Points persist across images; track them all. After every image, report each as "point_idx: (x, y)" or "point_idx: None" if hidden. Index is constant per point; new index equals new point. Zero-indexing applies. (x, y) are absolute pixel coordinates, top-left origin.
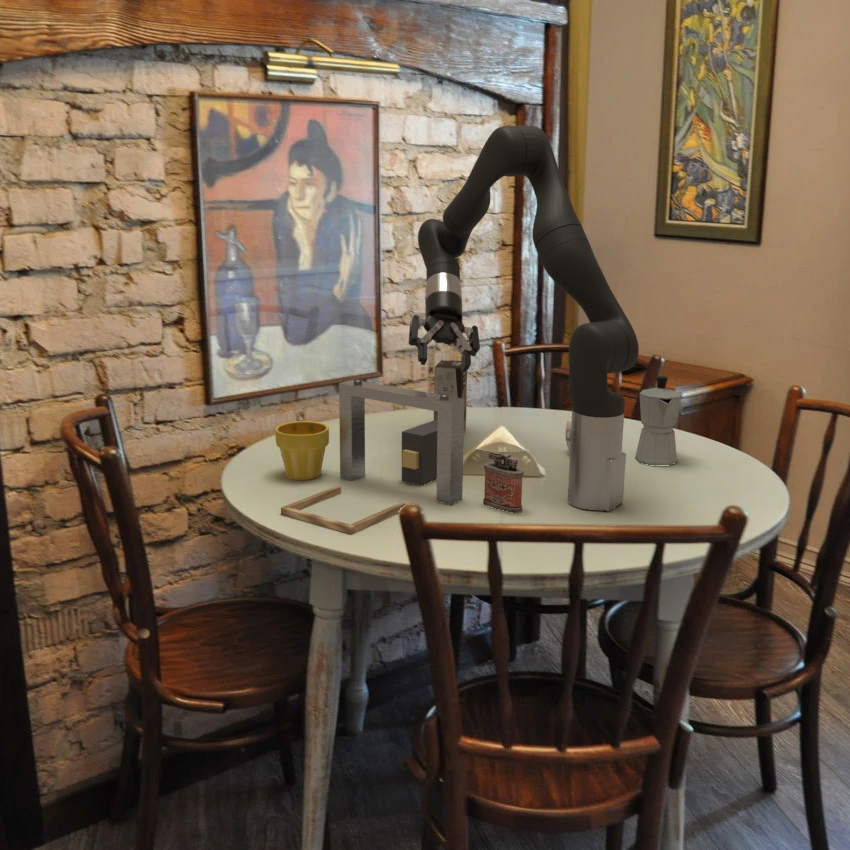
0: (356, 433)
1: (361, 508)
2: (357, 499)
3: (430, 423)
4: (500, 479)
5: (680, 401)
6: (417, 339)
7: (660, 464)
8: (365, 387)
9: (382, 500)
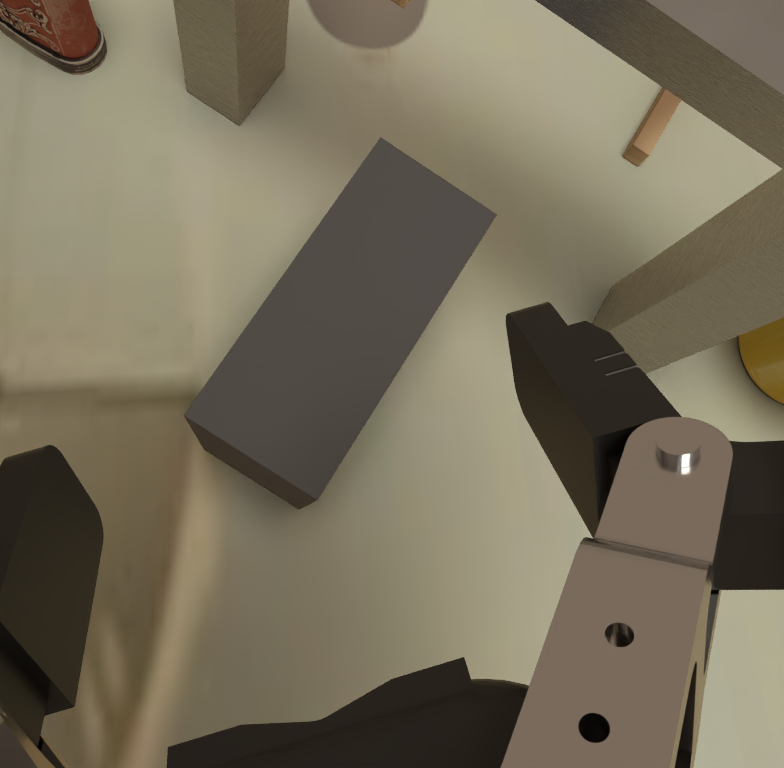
0: (707, 240)
1: (529, 17)
2: (557, 97)
3: (355, 390)
4: None
5: None
6: (780, 478)
7: None
8: None
9: (474, 87)
